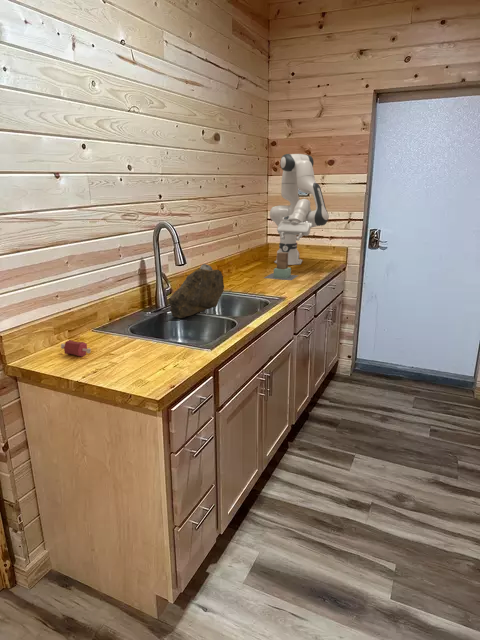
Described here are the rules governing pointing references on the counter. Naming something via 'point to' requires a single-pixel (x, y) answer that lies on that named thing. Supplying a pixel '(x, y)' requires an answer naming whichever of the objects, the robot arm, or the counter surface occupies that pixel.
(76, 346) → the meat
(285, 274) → the sage brick
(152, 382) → the counter surface
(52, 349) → the counter surface
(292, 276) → the mat
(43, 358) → the counter surface
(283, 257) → the walnut block
